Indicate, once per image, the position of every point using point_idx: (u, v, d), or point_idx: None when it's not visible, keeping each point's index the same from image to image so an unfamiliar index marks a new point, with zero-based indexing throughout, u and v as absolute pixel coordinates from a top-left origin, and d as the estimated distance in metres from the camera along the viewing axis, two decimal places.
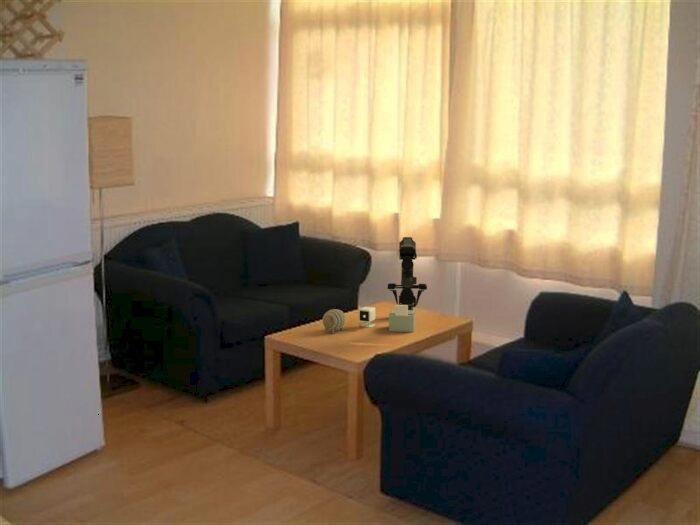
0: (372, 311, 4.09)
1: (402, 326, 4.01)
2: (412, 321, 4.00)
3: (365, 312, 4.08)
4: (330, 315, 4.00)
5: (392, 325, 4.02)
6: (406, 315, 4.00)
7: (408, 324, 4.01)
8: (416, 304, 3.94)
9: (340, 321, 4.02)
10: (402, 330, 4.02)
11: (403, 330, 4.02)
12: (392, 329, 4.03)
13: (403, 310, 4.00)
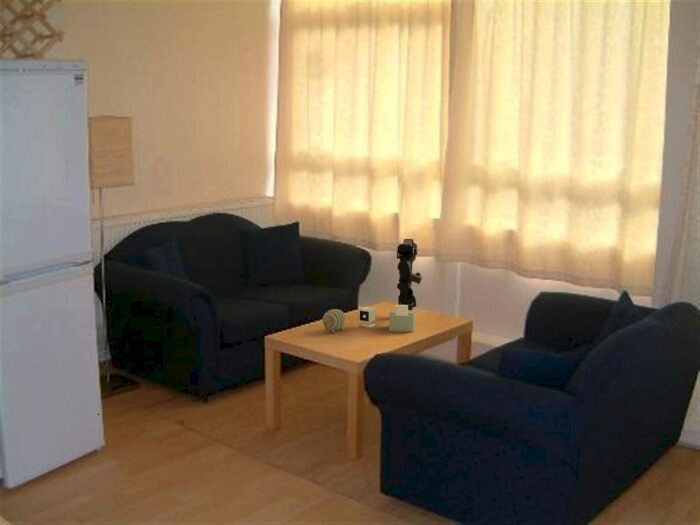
0: (372, 311, 4.09)
1: (402, 326, 4.01)
2: (412, 321, 4.00)
3: (365, 312, 4.08)
4: (330, 315, 4.00)
5: (392, 325, 4.02)
6: (406, 315, 4.00)
7: (408, 324, 4.01)
8: None
9: (340, 321, 4.02)
10: (402, 330, 4.02)
11: (403, 330, 4.02)
12: (392, 329, 4.03)
13: (403, 310, 4.00)
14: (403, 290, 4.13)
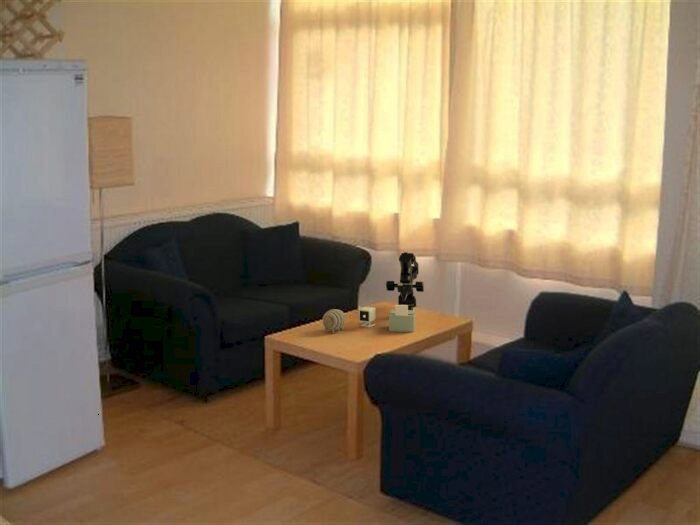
0: (372, 311, 4.09)
1: (402, 326, 4.01)
2: (412, 321, 4.00)
3: (365, 312, 4.08)
4: (330, 315, 4.00)
5: (392, 325, 4.02)
6: (406, 315, 4.00)
7: (408, 324, 4.01)
8: (403, 300, 4.12)
9: (340, 321, 4.02)
10: (402, 330, 4.02)
11: (403, 330, 4.02)
12: (392, 329, 4.03)
13: (403, 310, 4.00)
14: (407, 291, 4.14)
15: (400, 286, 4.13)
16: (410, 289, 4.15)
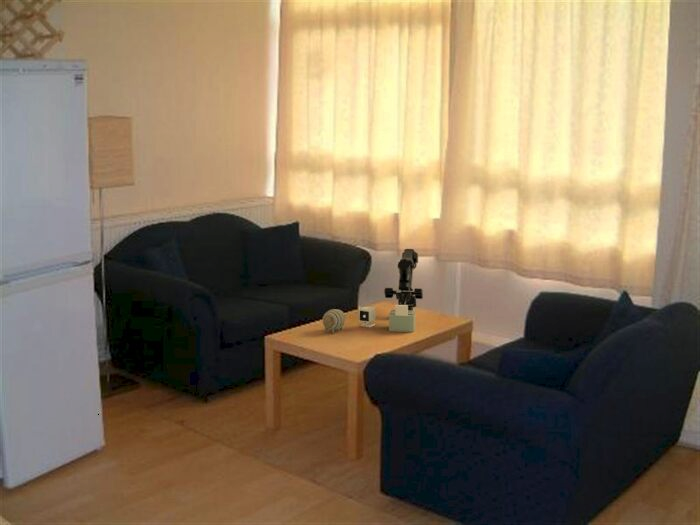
0: (372, 311, 4.09)
1: (402, 326, 4.01)
2: (412, 321, 4.00)
3: (365, 312, 4.08)
4: (330, 315, 4.00)
5: (392, 325, 4.02)
6: (406, 315, 4.00)
7: (408, 324, 4.01)
8: None
9: (340, 321, 4.02)
10: (402, 330, 4.02)
11: (403, 330, 4.02)
12: (392, 329, 4.03)
13: (403, 310, 4.00)
14: (405, 298, 4.07)
15: (399, 293, 4.07)
16: (409, 296, 4.08)
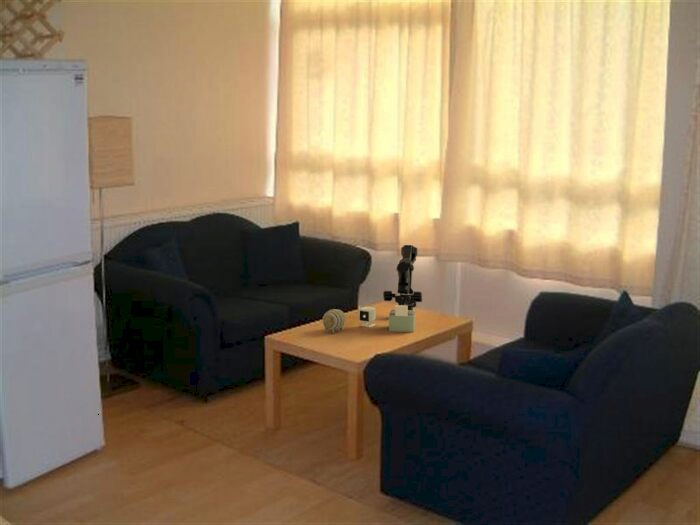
0: (372, 311, 4.09)
1: (402, 326, 4.01)
2: (412, 321, 4.00)
3: (365, 312, 4.08)
4: (330, 315, 4.00)
5: (392, 326, 4.02)
6: (406, 315, 4.00)
7: (408, 324, 4.01)
8: None
9: (340, 321, 4.02)
10: (402, 330, 4.02)
11: (403, 330, 4.02)
12: (392, 329, 4.02)
13: (403, 310, 3.99)
14: (405, 301, 4.03)
15: (398, 296, 4.02)
16: (408, 299, 4.04)
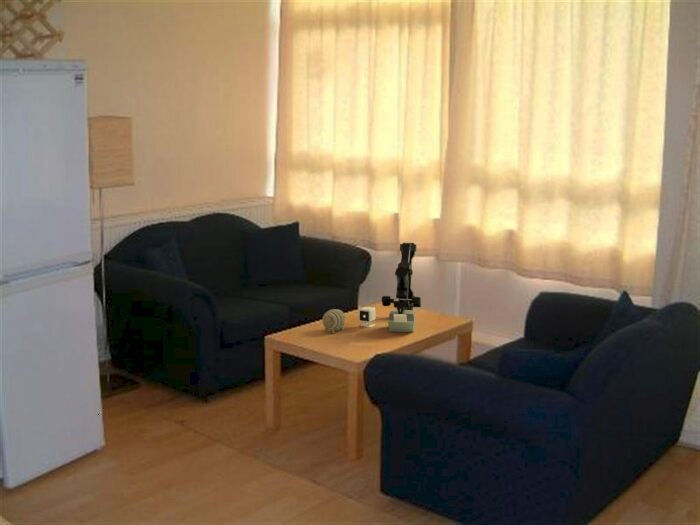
0: (372, 311, 4.09)
1: (402, 329, 4.00)
2: (411, 326, 3.97)
3: (365, 312, 4.08)
4: (330, 315, 4.00)
5: (391, 328, 4.01)
6: (405, 322, 3.96)
7: (408, 327, 3.99)
8: None
9: (340, 321, 4.02)
10: (402, 331, 4.02)
11: (403, 331, 4.02)
12: (392, 330, 4.02)
13: (402, 319, 3.94)
14: (403, 307, 3.97)
15: (396, 302, 3.96)
16: (407, 305, 3.97)
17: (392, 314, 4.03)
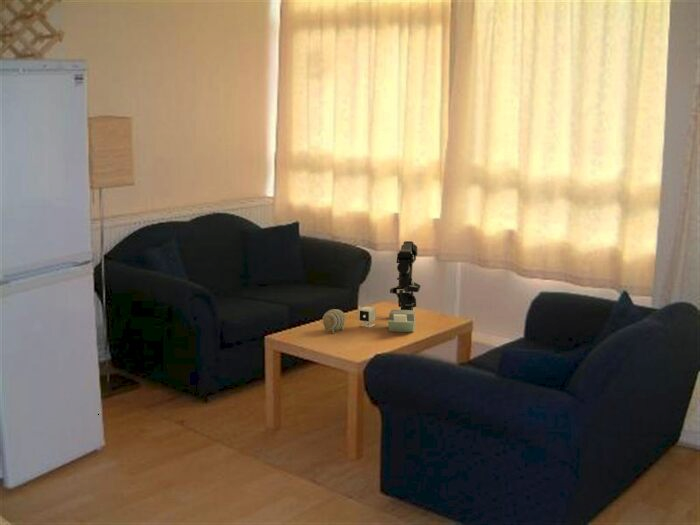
0: (372, 311, 4.09)
1: (402, 329, 4.00)
2: (411, 326, 3.97)
3: (365, 312, 4.08)
4: (330, 315, 4.00)
5: (391, 328, 4.01)
6: (405, 322, 3.96)
7: (408, 327, 3.99)
8: (404, 306, 4.10)
9: (340, 321, 4.02)
10: (402, 331, 4.02)
11: (403, 331, 4.02)
12: (392, 330, 4.02)
13: (402, 319, 3.94)
14: (404, 296, 4.09)
15: (396, 294, 4.11)
16: (406, 293, 4.08)
17: (392, 314, 4.03)
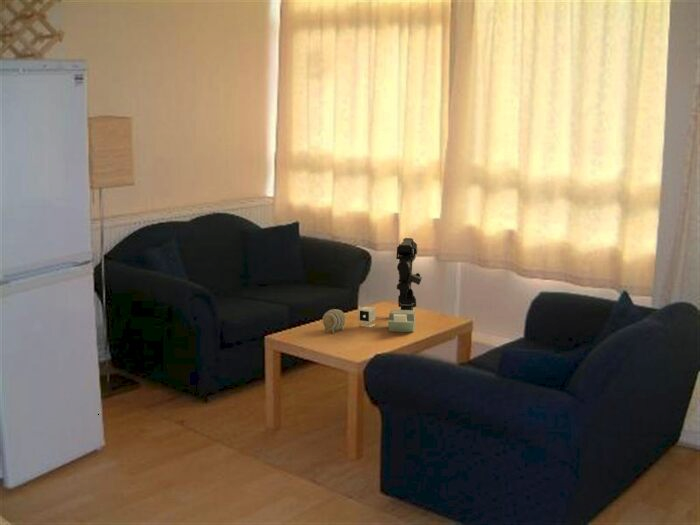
0: (372, 311, 4.09)
1: (402, 329, 4.00)
2: (411, 326, 3.97)
3: (365, 312, 4.08)
4: (330, 315, 4.00)
5: (391, 328, 4.01)
6: (405, 322, 3.96)
7: (408, 327, 3.99)
8: (405, 299, 4.15)
9: (340, 321, 4.02)
10: (402, 331, 4.02)
11: (403, 331, 4.02)
12: (392, 330, 4.02)
13: (402, 319, 3.94)
14: (403, 290, 4.13)
15: None
16: None
17: (392, 314, 4.03)
